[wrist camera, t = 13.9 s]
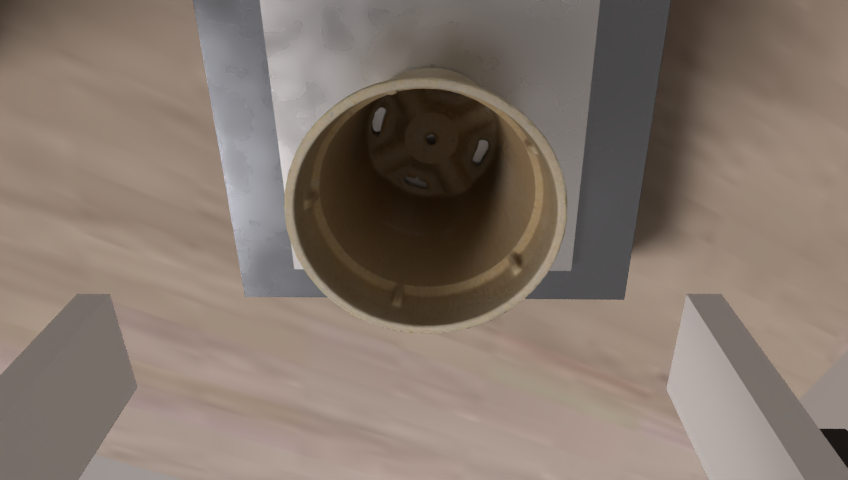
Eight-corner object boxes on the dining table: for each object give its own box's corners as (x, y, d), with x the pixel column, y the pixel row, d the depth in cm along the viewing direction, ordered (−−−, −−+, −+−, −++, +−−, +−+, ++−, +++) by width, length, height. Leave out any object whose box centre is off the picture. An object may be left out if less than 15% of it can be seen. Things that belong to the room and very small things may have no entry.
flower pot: (539, 221, 30) (569, 326, 23) (347, 237, 31) (312, 343, 23) (533, 18, 26) (567, 62, 18) (310, 42, 27) (253, 93, 19)
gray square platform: (264, 259, 37) (242, 301, 33) (212, -83, 29) (173, -83, 25) (607, 261, 36) (626, 304, 32) (655, -91, 28) (689, -92, 24)
